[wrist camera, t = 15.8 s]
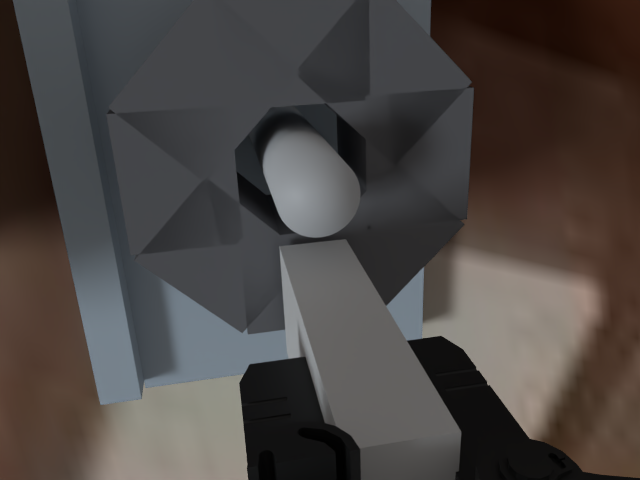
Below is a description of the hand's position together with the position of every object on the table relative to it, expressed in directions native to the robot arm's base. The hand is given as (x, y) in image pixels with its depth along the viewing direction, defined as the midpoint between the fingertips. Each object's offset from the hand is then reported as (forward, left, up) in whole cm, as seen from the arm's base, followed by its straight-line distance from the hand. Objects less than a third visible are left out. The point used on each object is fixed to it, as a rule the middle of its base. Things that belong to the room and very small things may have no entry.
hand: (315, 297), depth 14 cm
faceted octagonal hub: (0, +3, -3) cm, 4 cm away
